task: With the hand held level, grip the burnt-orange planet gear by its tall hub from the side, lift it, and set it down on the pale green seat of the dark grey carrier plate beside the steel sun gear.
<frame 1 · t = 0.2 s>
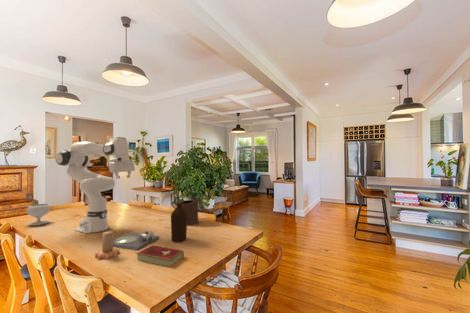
hand: (123, 178, 155), 39 cm above the table, tool pointing down, fingers open, 8 cm apart
carrier plate: (133, 241, 137), on the table
olive oil: (179, 239, 141), on the table
chalice: (38, 224, 174), on the table
hardcover book: (160, 259, 114), on the table
cup holder: (185, 222, 180), on the table
planet gear: (107, 254, 118), on the table
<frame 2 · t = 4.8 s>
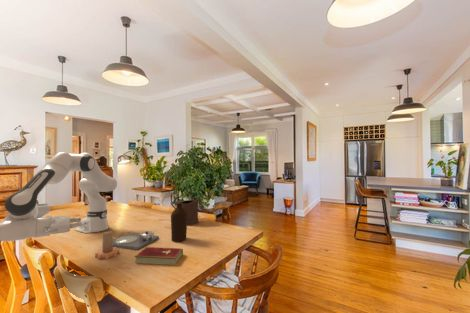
hand: (81, 221, 111), 20 cm above the table, tool horizontal, fingers open, 8 cm apart
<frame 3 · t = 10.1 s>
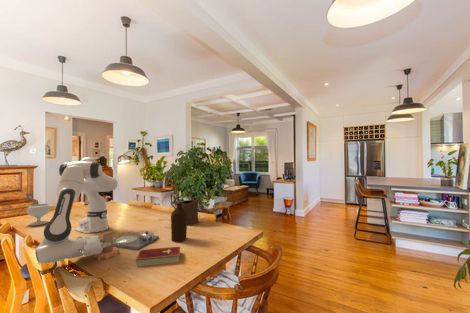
hand: (109, 241, 118), 7 cm above the table, tool horizontal, fingers closed on planet gear, 5 cm apart
planet gear: (107, 254, 118), on the table, touching gripper
when the fingers open (10 cm above the table, at t = 16.0 s): planet gear drops 1 cm, resting on carrier plate.
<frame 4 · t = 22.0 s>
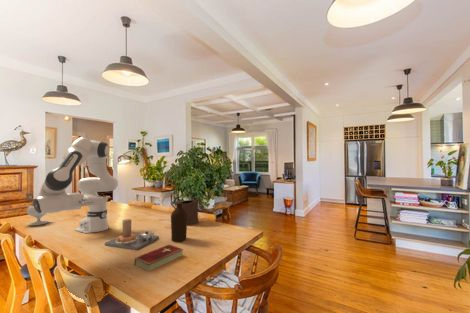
hand: (103, 197, 125), 30 cm above the table, tool horizontal, fingers open, 8 cm apart
hardcover book: (159, 261, 112), on the table
planet gear: (126, 239, 136), point 2 cm above the table, touching carrier plate
everything else where it was.
at the end: planet gear 0.1 cm from the target spot on the carrier plate, point 1.8 cm above the carrier plate's base; planet gear tilted 0°; the gripper is holding nothing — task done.
